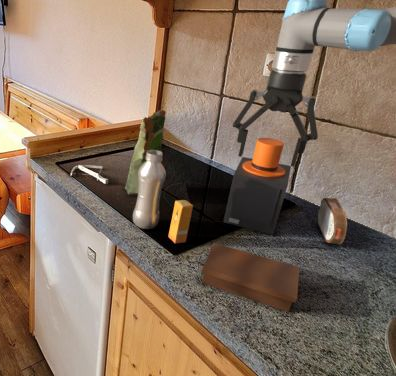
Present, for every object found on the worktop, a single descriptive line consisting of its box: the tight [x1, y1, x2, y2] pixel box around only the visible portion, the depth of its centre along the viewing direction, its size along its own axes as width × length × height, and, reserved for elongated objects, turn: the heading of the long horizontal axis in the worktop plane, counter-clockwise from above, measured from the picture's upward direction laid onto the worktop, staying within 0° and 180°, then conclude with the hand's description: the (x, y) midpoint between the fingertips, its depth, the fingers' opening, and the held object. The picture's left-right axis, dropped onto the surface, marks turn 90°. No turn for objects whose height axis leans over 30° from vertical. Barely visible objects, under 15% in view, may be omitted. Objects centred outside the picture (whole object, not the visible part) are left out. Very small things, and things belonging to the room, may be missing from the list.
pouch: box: [124, 109, 167, 196], centre depth 116 cm, size 11×12×25 cm
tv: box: [223, 156, 292, 236], centre depth 106 cm, size 12×14×14 cm
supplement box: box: [168, 199, 194, 244], centre depth 96 cm, size 3×3×10 cm
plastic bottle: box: [132, 150, 167, 230], centre depth 99 cm, size 6×7×20 cm
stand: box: [201, 242, 300, 313], centre depth 83 cm, size 17×11×4 cm, turn 60°
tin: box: [317, 197, 348, 246], centre depth 100 cm, size 15×3×8 cm, turn 161°
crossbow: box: [70, 164, 109, 185], centre depth 132 cm, size 16×13×2 cm
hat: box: [243, 137, 286, 177], centre depth 102 cm, size 10×10×8 cm
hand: (265, 159), depth 102 cm, fingers open, 11 cm apart
